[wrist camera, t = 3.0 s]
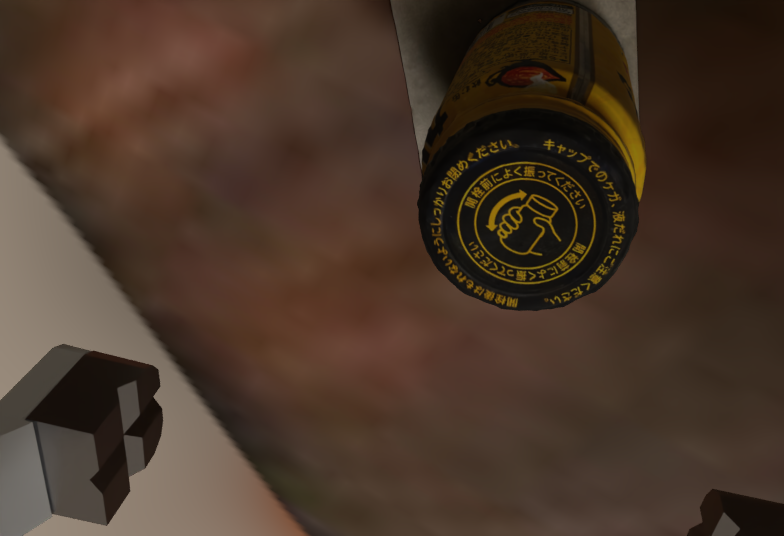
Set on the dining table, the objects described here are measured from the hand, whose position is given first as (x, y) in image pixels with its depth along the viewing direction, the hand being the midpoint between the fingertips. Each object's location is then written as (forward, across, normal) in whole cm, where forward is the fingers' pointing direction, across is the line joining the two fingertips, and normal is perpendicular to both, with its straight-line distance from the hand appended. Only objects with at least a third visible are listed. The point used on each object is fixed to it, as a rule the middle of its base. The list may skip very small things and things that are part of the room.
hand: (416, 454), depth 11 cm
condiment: (+20, 0, 0) cm, 20 cm away
